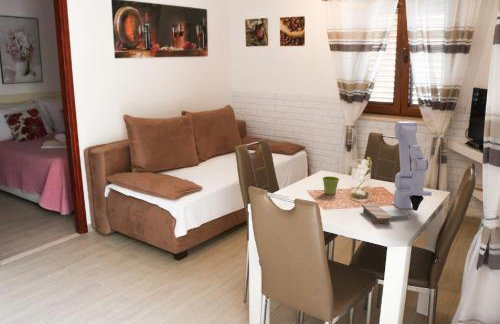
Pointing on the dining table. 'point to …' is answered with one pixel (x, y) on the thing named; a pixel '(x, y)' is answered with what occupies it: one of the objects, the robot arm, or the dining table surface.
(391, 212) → the grey shell
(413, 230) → the dining table surface
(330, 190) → the plant pot
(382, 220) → the walnut shelf
